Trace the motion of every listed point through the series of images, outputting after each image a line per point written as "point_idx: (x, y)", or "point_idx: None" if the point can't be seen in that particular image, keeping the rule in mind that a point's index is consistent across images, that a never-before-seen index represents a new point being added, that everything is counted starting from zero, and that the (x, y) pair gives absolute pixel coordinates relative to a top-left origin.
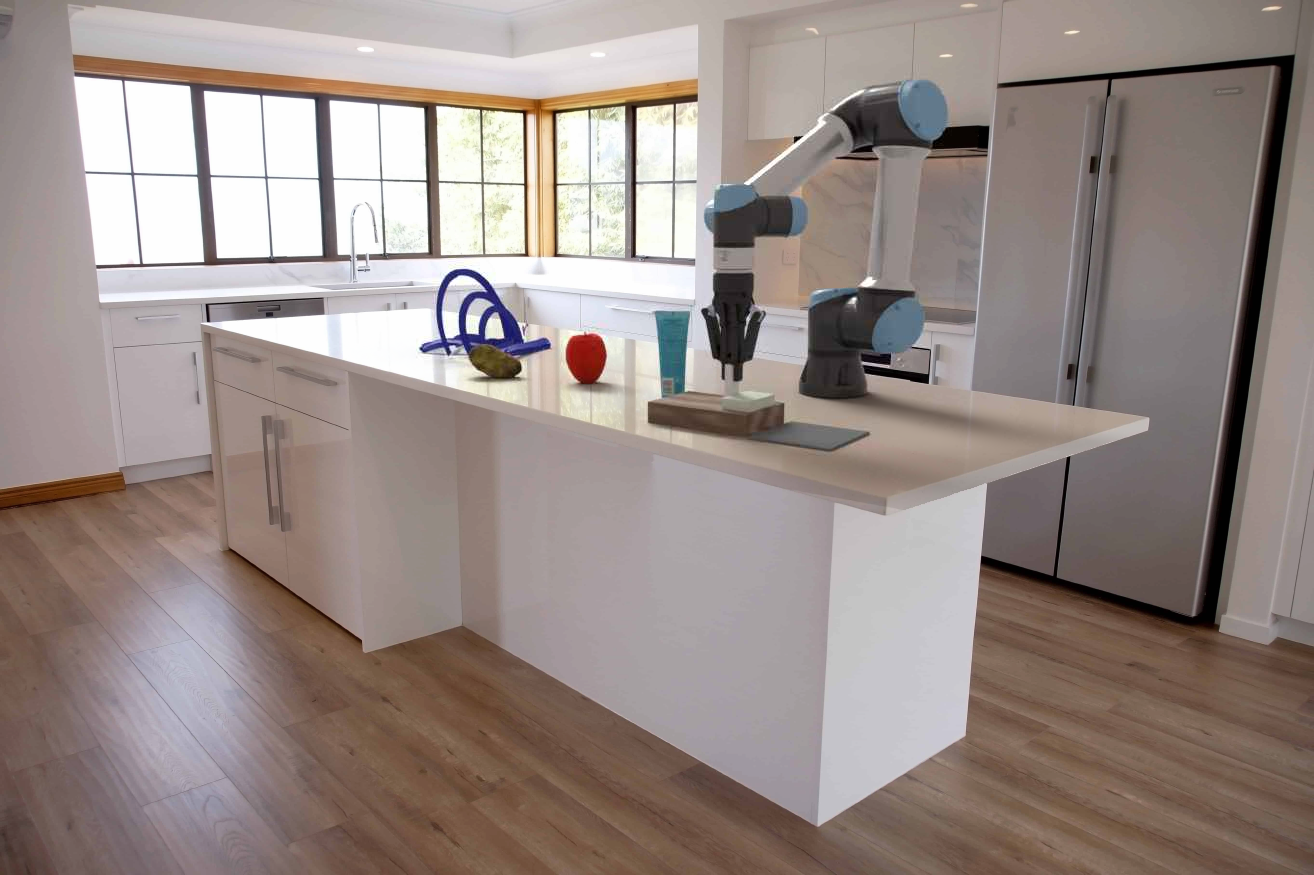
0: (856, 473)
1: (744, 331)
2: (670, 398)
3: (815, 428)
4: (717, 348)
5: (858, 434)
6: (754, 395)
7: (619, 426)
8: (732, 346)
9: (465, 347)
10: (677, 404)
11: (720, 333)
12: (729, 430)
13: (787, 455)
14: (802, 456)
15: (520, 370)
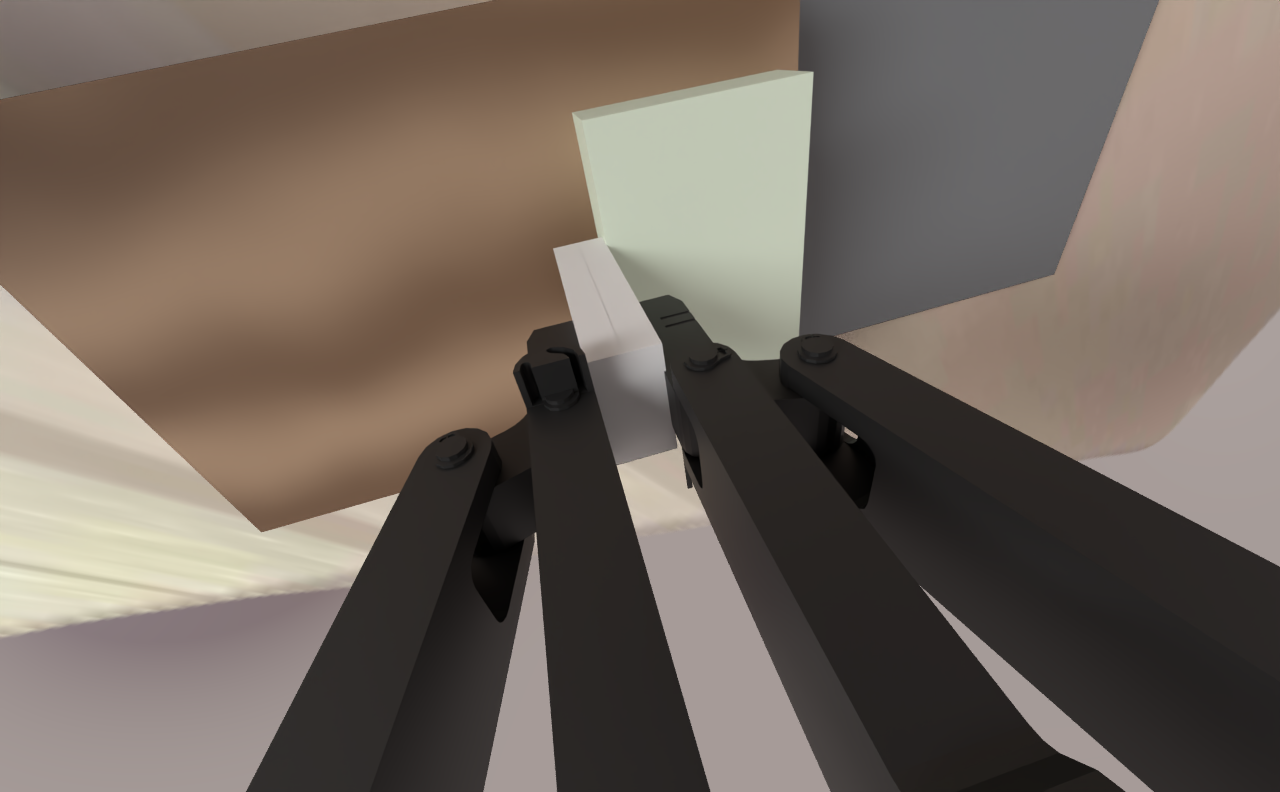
0: (1118, 378)
1: (970, 659)
2: (210, 419)
3: (953, 2)
4: (511, 595)
5: None
6: (728, 225)
7: (321, 552)
8: (741, 581)
9: None
10: (409, 467)
11: (380, 755)
12: None
13: (944, 388)
14: (982, 367)
15: None
